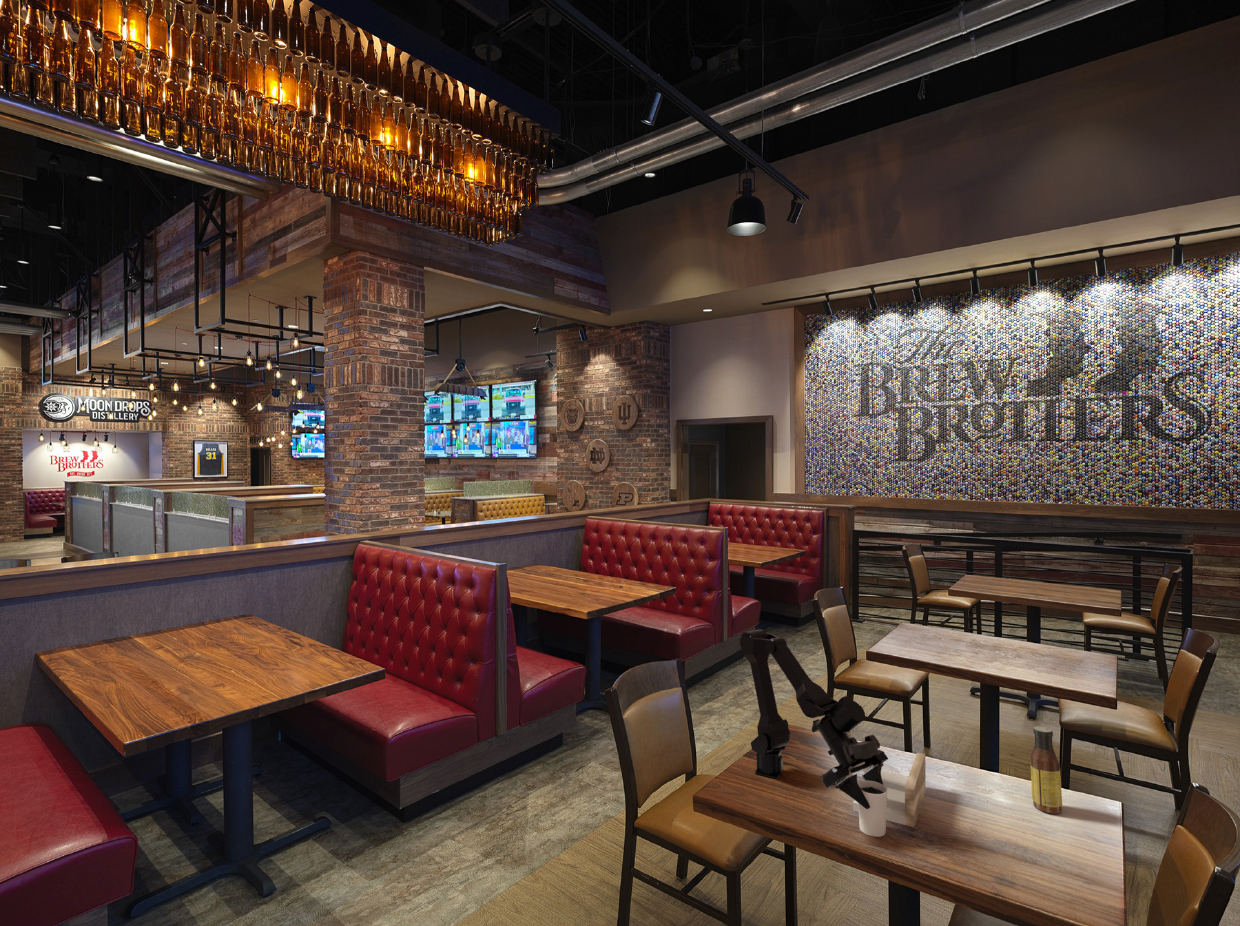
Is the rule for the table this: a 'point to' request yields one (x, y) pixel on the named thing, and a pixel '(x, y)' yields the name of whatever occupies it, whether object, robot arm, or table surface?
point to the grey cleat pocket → (892, 796)
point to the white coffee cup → (873, 808)
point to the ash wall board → (915, 790)
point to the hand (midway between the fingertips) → (877, 804)
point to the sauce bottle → (1045, 773)
